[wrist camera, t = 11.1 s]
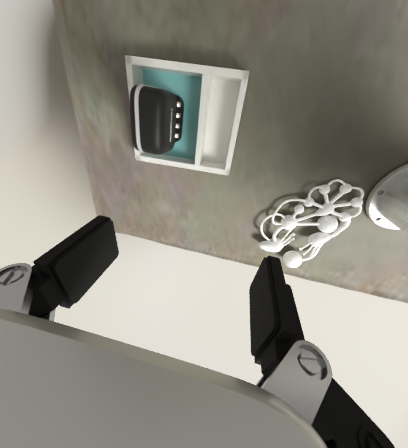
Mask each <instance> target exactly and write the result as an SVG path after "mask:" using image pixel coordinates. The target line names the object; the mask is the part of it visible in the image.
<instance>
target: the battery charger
mask: <svg viewBox="0 0 408 448" xmlns="http://www.w3.org/2000/svg"><path fill="white" fill-rule="evenodd" d="M130 115H131V130H132V140H133V145H134V147H135V149H136V150H138V151H140V152H143V153H151V154H156V155H161V154H164V153H166V152H168V151H170V150H172V149H173V148H174V145H175V142H178V141H179V140H180V139H181V137H182V127H183V115H184V101H183V99H182V98H181V97H180V96H178V95H176V94H173V93H172V92H170V91H167V90H164V89H159V88H156V87H153V86H149V85H144V84H140V85H135V86H133V87H132V89H131V92H130Z"/></svg>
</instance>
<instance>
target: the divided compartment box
mask: <svg viewBox="0 0 408 448" xmlns="http://www.w3.org/2000/svg"><path fill="white" fill-rule="evenodd" d="M125 63H126V72H127V82H128V92H129V101H130V92H131V89H132V87H133V86H135V85H140V84H144V85H149V86H153V87H156V88H159V89H164V90H167V91H170V92H172V93H173V94H176V95H178V96H180V97H181V98H182V99H183V101H184V115H183V127H182V137H181V139H180V140H179V141H178V142H175V145H174V148H173V149H172V150H170V151H168V152H166V153H164V154H161V155H156V154H151V153H143V152H140V151H138V150H136V149H135V147H134V149H135V159H136V160H139V161H145V162H151V163H157V164H163V165H169V166H175V167H181V168H187V169H193V170H199V171H205V172H211V173H217V174H223V175H229V172H230V167H231V162H232V157H233V152H234V147H235V142H236V137H237V133H238V128H239V123H240V118H241V113H242V108H243V103H244V98H245V93H246V88H247V83H248V78H249V74H250V71H244V70H236V69H229V68H221V67H213V66H206V65H198V64H190V63H182V62H175V61H167V60H159V59H151V58H144V57H136V56H128V55H125Z"/></svg>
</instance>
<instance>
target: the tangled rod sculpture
mask: <svg viewBox="0 0 408 448" xmlns="http://www.w3.org/2000/svg"><path fill="white" fill-rule="evenodd" d="M337 181H338V182H341V183H342V184H343V185H341V186H340V188H339V190H340V193H339V194H337V195H336V196H335V197H334V198H333V199H332V200H331V201H329V199H328V195H327V193H329V191H330V185H331V184H332V183H333V182H337ZM318 188H319V192H320V193H321V194H323V195H324V199H325V203H324V204H323V205H320V204H318V203H316V202H314V200H313V199H312V198H310V197H311V193H312V192H313V191H314V190H315V189H318ZM351 189H357V190H359V191H360V192H361V196H360V198H353V199H352V200H351V201H350V202H347V203H341V204H333V203H334V202H335V201H336V200H337V199H339V198H340V197H341V196H342V195H343V194H344V193H349V192H350V191H351ZM363 197H364V191H363V189H361V188H360V187H352V186H351V185H350V184H346V183H345V182H344V181H343V180H340V179H335V180H332V181H330V182H329V183H328V184H327V185H322V186H317V187H314V188H313V189H311V190H310V192H309V194H308V198H306V199H288V200H285V201H283V202H282V203H281V204H280V205H279V206H278V207H277V209H276V210H275V212H274V214H271V215H269V216H267V217H265V218H264V219H263V221H262V222H261V225H260V231H261V234H262V236H263V237H264V238H265V239H266V241H262V242H260V243H259V246H260V247H261V248H262V249H263V250H266V251H270V252H279V251H280V250H281V249H282V248H283V247H284V246H286V245H287V244H288V243H289V242H291V240H294V239H295V238H294V237H292V236H295V233H294V232H293V233H291V235H290V236H289V237H288V238H287V239H286V240H284V241H283V242H282V240H283V239H285V238H286V236H287V235H288V234H289V233H290V232H291V231H292V229H294V228H295V227H296V226H301V225H317V227H318V229H319V230H320V231H322V232H317V233H314V234H311V235H310V236H309V238H308V242H309V243H308V244H307V245H305V246H304V247H302V248H301V247H299V250H302V249H303V248H305V247H307V246H308V245H309V244H311V247H310V248H309V249H308V250H307V251H306V252H302V255H305V254H306V253H307V252H308V251H310V249H311V248H312V247H313V246H314V249H313V251H312V252H311V255H309V256H307V257H304V258H302V257H301V255H300V254H299V253H298V252H296V251H287V252H286V253H285V254H284V256H283V262H284V263H285V264H286V265H287V266H288V267H290V268H296V267H298V266H300V264H301V263H302V261H306V260H309V259H311V258H313V257H314V256H315V255H316V254H317V252H318V251H319V249H320V248H321V246H322V244H324V243H325V242H326V241H328V240H329V239H330V238H332V237H335V236H336V235H338V234H339V233H340V232H341V231H343V230H344V229H346V228H347V227H348V225H349V224H350V222H351V218H353V217H356V216H358V215H359V214H360V213H361V211H362V204H363V201H362V198H363ZM291 201H301V202H303V203H304V205H305V206H307V207H311V206H312V205H314V206H316V207H319V209H318V210H317V211H316V212H315V213H313V214H310V215H307V216H304V217H301V218H297V219H296V218H295V217H296V215H297V214H301V213H303V212H304V207H303V206H302V205H297V206H295V208H294V211H295V213H294V214H293V215H286V216H284V215H282V214H280V213H277V212H278V210H279V209H280V208H281V206H282V205H283V204H284V203H287V202H291ZM350 205H351V206H353V207H359V210H358V212H357V213H356V214H354V215H351V216H350V215H349V214H348V213H346V212H343V213H338V212H335V211H334V209H335V208H336V207H343V206H350ZM328 214H333V215H336V216H338V218H339V220H340V221H344V222H345V221H346V222H345V223H344V225H343V226H342V227H340V228H339V229H337V230H336V228H337V226H338V222H337V220H336V218H334V217H333V216H329V215H328ZM275 215H279V216H281V217H282V219H281V223H276V222H274V217H275ZM314 216H322V217H320V218H319V219H318V221H317V222H311V223H297V222H298V221H301V220H304V219H307V218H310V217H314ZM270 217H272V219H271V221H272V223H273V224H275V225H281V226H280V227H278V228H277V229H276V230H275V231H274V233H273V235H272V238H271V239H269V238H267V237H266V236H265V235H264V233H263V229H262V227H263V223H264V222H265V221H266V220H267V219H268V218H270ZM282 229H286V230H288V232H287V234H286V235H285V236H284V237H283V238H282V239H280V238H279V237H276V235H277V233H278V232H279V231H280V230H282ZM334 230H336V231H335V232H334V233H332V234H327V233H330V232H333V231H334ZM323 232H325V233H323ZM289 239H290V240H289ZM287 240H289V241H288V242H287V243H285V242H286V241H287ZM283 243H285V244H284V245H283Z"/></svg>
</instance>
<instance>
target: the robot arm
mask: <svg viewBox="0 0 408 448" xmlns="http://www.w3.org/2000/svg"><path fill="white" fill-rule="evenodd" d="M366 213H367V215H368V217H369V219H371V220H372V221H373V222H374V223H375V224H377V225H378V226H381V227H384V228H388V229H400V230H402V231H403V232H405V233H406V234H407V235H408V164H406V165H403V166H401V167H399V168H397V169H396V170H394V171H392V172H391V173H389V174H388V175H387V176H385V177H384V178H383V179H382V180H381V181H380V182H379V183H378V184H377V185H376V186H375V187H374V188H373V190H372V191H371V193H370V194H369V196H368V198H367V202H366ZM118 253H119V251H118V246H117V241H116V236H115V231H114V225H113V221H111V219H110V218H109V217H105V216H101V215H100V216H97V217H96V218H94V219H93V220H92V221H90V222H89V223H87V224H86V225H84V226H83V227H82V228H80V229H79V230H77V231H76V232H75V233H73V234H72V235H70V236H69V237H67V238H66V239H65V240H63V241H62V242H60V243H59V244H58V245H56V246H55V247H53V248H52V249H50V250H49V251H48V252H46V253H45V254H43V255H42V256H41V257H39V258H38V259H37V260H35V261H34V264H35V265H34V266H32V267H31V266H30V265H29V264H26V263H18V264H12V265H9V266H6V267H4V268H2V269H0V448H395V447H394V445H393V444H392V443H391V441H390V440H389V439H388V438H387V437H386V435H385V434H384V433H383V432H382V431H381V430H380V429H379V427H377V425H376V424H375V423H374V422H373V421H372V420H371V419H370V418H369V417H368V416H367V414H365V412H364V411H363V410H362V409H361V408H360V407H359V406H358V405H357V404H356V403H355V402H354V400H353V399H352V398H351V397H350V396H349V395H348V394H347V393H346V392H345V391H344V390H343V389H342V387H341V386H340V385H339V384H338V383H337V382H336V381H335V380H334V379H333V378H332V370H331V366H330V364H329V361H328V360H327V358H326V356H325V355H324V353H323V352H322V351H321V350H320V349H319V348H318V347H316V346H315V345H314V344H312V343H310V342H308V341H305V339H304V335H303V331H302V327H301V324H300V320H299V316H298V312H297V308H296V305H295V301H294V297H293V293H292V289H291V287H290V285H288V284H286V283H285V279H284V275H283V270H282V266H281V262H280V259H279V258H276V257H272V256H268V257H267V258H265V257H264V259H263V261H262V263H261V265H260V267H259V269H258V271H257V274H256V275H255V278H254V280H253V282H252V284H251V286H250V292H249V293H250V331H251V354H252V355H253V356H255V363H257V364H260V365H261V368H262V374H263V376H262V377H261V379H260V380H259V381H258V383H257V384H256V385H253V384H251V383H248V382H246V381H243V380H240V379H238V378H235V377H232V376H229V375H225V374H223V373H220V372H216V371H213V370H210V369H208V368H204V367H201V366H198V365H195V364H191V363H188V362H185V361H182V360H178V359H175V358H172V357H169V356H166V355H162V354H159V353H155V352H153V351H149V350H146V349H143V348H139V347H136V346H133V345H130V344H126V343H123V342H120V341H116V340H113V339H110V338H106V337H103V336H100V335H97V334H93V333H90V332H86V331H83V330H80V329H76V328H73V327H70V326H66V325H63V324H59V323H56V322H54V315H55V308H56V307H57V306H58V305H60V306H62V307H65V308H70V307H71V306H72V305H73V304H74V303H76V302H78V301H79V300H80V298H81V297H82V296H83V295H84V294H85V293H86V292H87V291H88V289H89V288H90V287H91V286H92V285H93V284H94V283H95V282H96V280H97V279H98V278H99V277H100V276H101V275H102V274H103V272H104V271H105V270H106V269H107V268H108V267H109V265H111V263H112V262H113V261H114V260H115V259H116V258H117V256H118Z"/></svg>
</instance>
